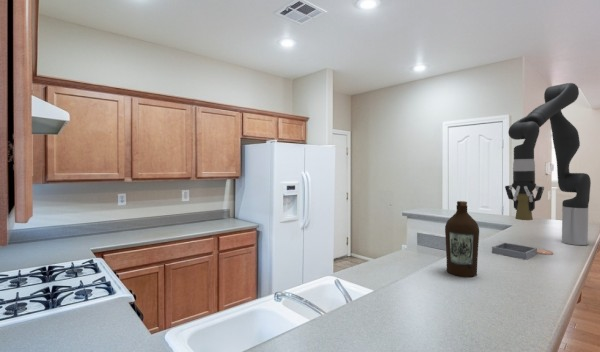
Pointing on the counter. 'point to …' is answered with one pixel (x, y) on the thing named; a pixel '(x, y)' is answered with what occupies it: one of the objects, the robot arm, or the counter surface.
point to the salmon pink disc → (544, 252)
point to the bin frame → (504, 247)
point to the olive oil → (462, 242)
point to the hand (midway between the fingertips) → (524, 209)
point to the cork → (523, 208)
